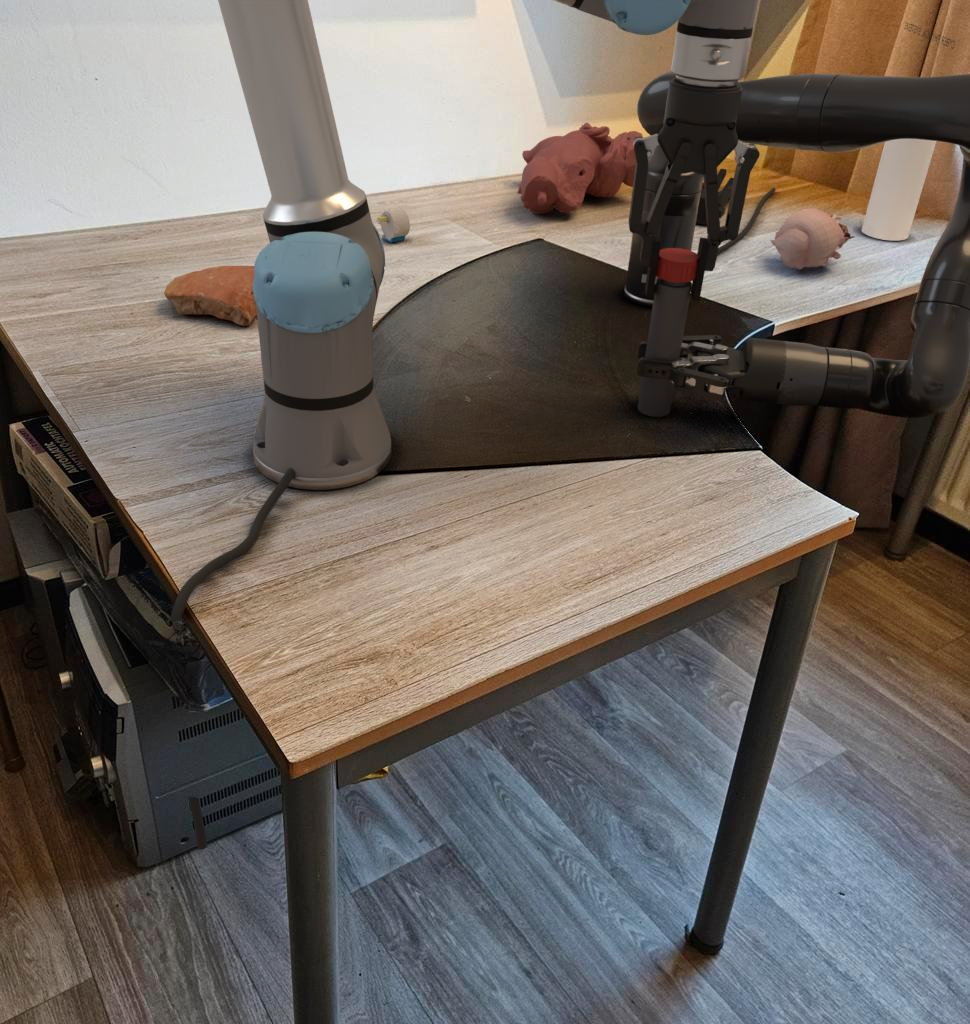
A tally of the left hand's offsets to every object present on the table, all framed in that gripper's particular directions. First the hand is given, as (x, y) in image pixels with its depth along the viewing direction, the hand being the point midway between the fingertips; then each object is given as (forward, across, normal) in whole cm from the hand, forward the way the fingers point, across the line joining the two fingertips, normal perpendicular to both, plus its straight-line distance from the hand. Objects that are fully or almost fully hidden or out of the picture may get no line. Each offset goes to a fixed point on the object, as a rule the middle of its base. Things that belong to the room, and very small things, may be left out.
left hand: (671, 294), depth 112 cm
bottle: (+15, 0, 0) cm, 15 cm away
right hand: (+9, -3, 0) cm, 9 cm away
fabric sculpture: (+15, -11, +86) cm, 88 cm away
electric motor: (+15, -42, +56) cm, 72 cm away
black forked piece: (+15, +17, +92) cm, 94 cm away
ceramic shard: (+15, -62, +23) cm, 68 cm away
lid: (-4, 0, 0) cm, 4 cm away
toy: (+15, +30, +58) cm, 67 cm away
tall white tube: (+15, +48, +80) cm, 95 cm away
